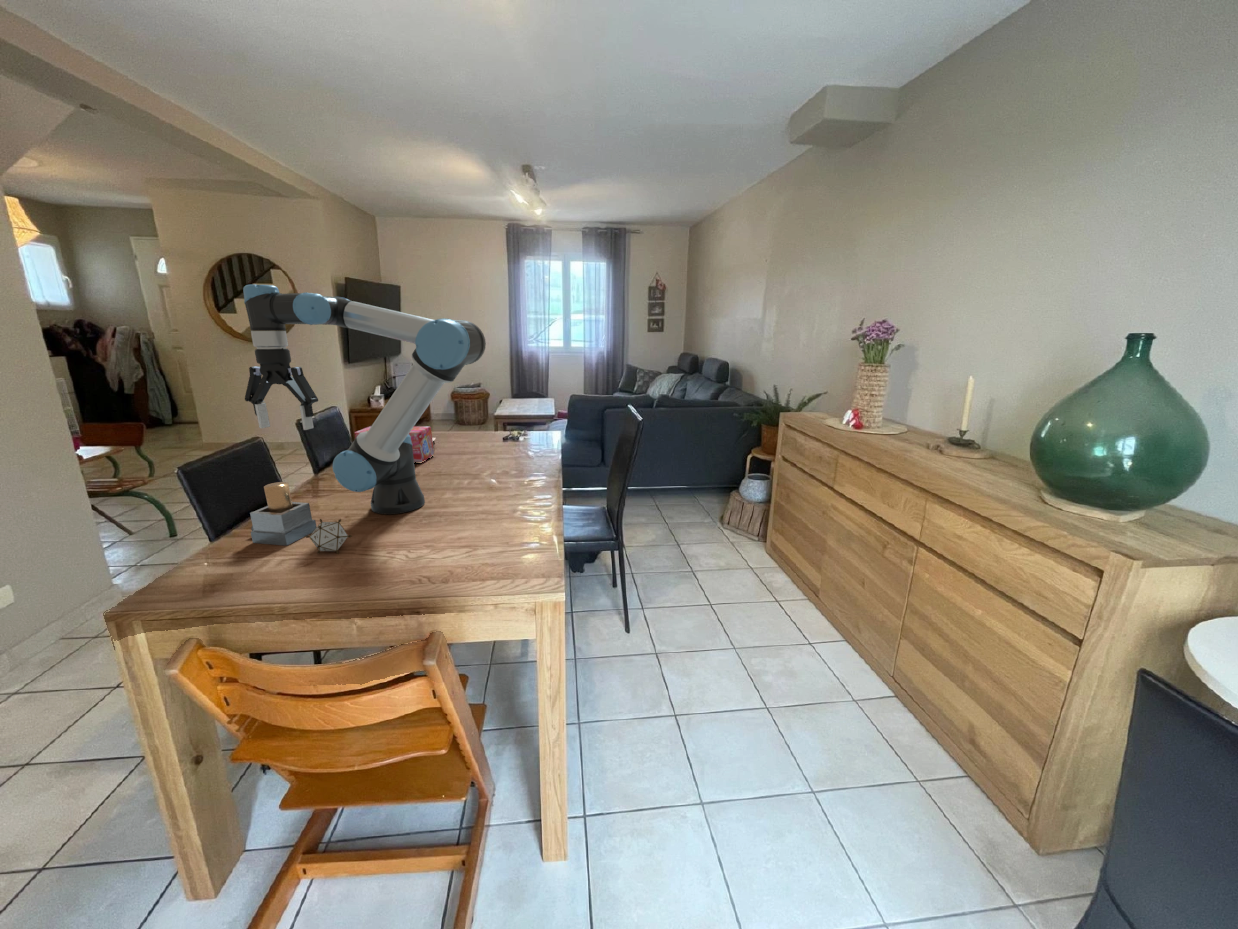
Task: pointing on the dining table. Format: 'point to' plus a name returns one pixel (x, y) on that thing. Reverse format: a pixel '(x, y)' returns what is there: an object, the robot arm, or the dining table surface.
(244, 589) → the dining table surface
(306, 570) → the dining table surface
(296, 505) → the open rectangular container
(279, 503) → the gold metallic cylinder
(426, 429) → the box
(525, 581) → the dining table surface
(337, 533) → the game die
